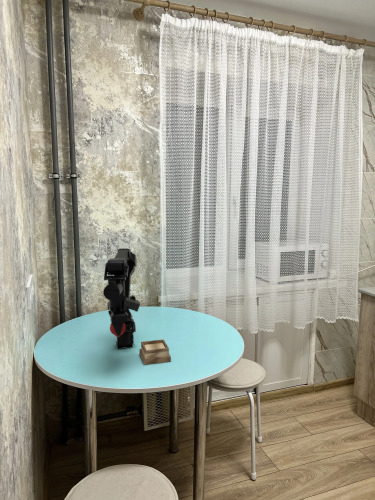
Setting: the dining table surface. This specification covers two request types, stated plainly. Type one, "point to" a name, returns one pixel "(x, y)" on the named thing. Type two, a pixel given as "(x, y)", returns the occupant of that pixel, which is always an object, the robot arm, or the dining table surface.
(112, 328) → the pomegranate
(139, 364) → the dining table surface
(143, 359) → the pedestal
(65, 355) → the dining table surface
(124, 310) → the robot arm
